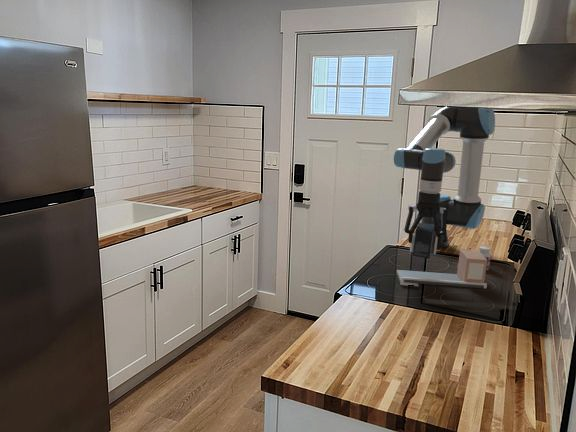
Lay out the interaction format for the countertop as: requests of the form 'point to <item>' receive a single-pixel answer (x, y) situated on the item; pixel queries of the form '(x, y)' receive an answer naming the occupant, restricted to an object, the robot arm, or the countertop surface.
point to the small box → (424, 240)
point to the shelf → (434, 279)
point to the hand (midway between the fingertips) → (422, 252)
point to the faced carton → (471, 266)
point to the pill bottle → (485, 255)
